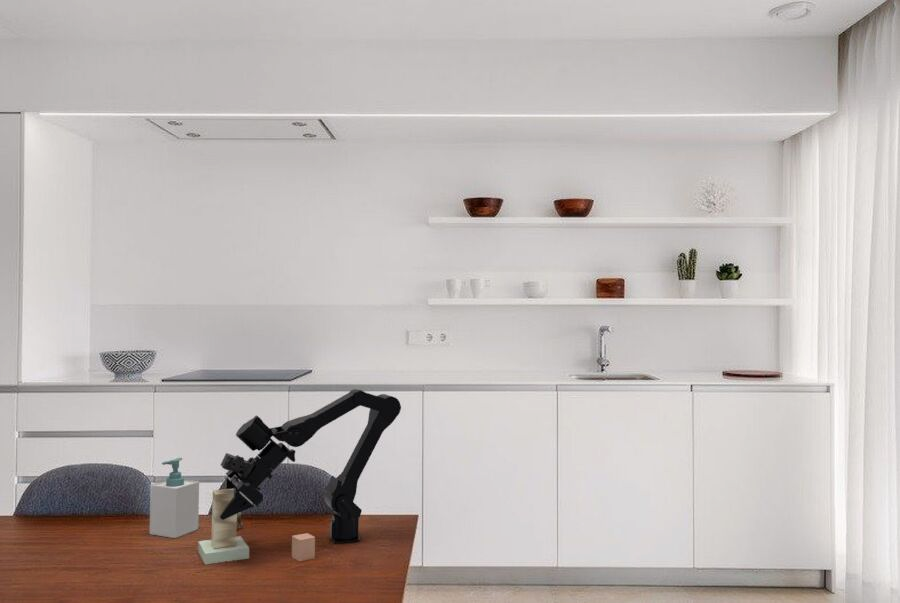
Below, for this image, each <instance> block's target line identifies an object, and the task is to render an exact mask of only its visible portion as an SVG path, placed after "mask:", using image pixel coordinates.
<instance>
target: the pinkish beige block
mask: <svg viewBox="0 0 900 603" xmlns="http://www.w3.org/2000/svg"><path fill="white" fill-rule="evenodd" d="M315 553H316V537H315V536H314V535H312V534H310V533H308V532H306V533H300V534H299V533H298V534H295V535H292V536H291V558H292V559H294V560H296V561H297V562H304V561H308V560H314V559H316V558H315V557H316V554H315Z"/></svg>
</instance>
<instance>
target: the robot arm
mask: <svg viewBox="0 0 900 603" xmlns="http://www.w3.org/2000/svg"><path fill="white" fill-rule="evenodd" d="M360 406H361V407H364V408H367V409H369V412H368V420H367V424H366V426H365V428H364V429H363V432H362V434H361V436H360V438H359V440H358V441H357V442H356V443H357V444H356V445H355V447H354V448H353V451H352V452H351V455H350V457H349V459H348V460H347V462H346V464H345V467H344V468H343V470H342V472H341V473H340V474H339V475H338V476H336V477H335V476H334V475H331V476H330V478H329V481H328V484H327V485H326V486H325V487H324V488H323V490H324V494H323V499H324V502H325V503H326V504H327V506H328V507H329V508H331V511H332V520H330V521H329V523H330V525H329V536H330V538H331V539H332V541H333V543H334V544H341V543H342V544H343V543H356V542H360V541H361V538H360V537H359V525H360V524H359V523H360V521H359V520H360V517H361V514H362V511H363V510H362V509H361V508H360V507H359V506H358V505H357V504H356V502H354V501H355V498H356V494H357V488H358V481H359V480H360V477H361V475H362V473H363V472H364V470H365V468H366V467H367V466H366V465H367V464H368V462H369V460H370V458H371V455H372V453H373V452H374V450H375V449H376V446H377V444H378V442H379V440H380V438H381V436H382V434H383V433H384V431H385V430H386V429H387V428H389V426H391V425H392V423H393V422H394V421H395V420H396V419H397V417H398V416H399V415H400V413H401V410H402V405H401V402H400V400H399V399H398V398H397V397H396V396H393V395H388V394H385V393H381V394H378V395H376V394H375V395H374V394H372V393H368V392H365V391H363V390H361V389H359V388H354V389H351V390H350V391H349V392H348V393H346V394H344V395H342V396H341V397H339V398H337V399H335V400H334V401H331V403H328V404H326V405H325V406H323V407H321V408H319V409H317V410H316V411H314V412H313V413H310V414H307V415H302V416H299V417H296V418H293V419H290V420H288V421H286V422H284V423H282V425H279V426H276V427H275V426H274V427H269V426H268V425H267V424H265V422H264V421H263V420H262V418H260V416H258V415H255V416H254V417H253V418H251V419H249V420H248V421H246V422H244V423H243V424H242V425H241V426H240V427H239V428H238V429H237V431H236V433H235V436H236V438H238V439H239V440H240V441H241V442H242V443H243V444H244V445H246V447H247V448H249V449H250V450H251V451H252V452H254V451H259V453H258V454H257V455H256V456H255V457H249V458H248V459H247V460H246V459H245V458H244V457H243V456H239V455H238V454H237V455H233V454H231V453H228V452H226V453H225V455H224V457H223V458H222V460H221V463H220V466H221V468H222V469H224V470H226V471H227V472H225V475H226V476H225V477H224V481H225V486H224V488H223V489H234V497H233V498H232V500H231V501H230V503H229V504H228V505H227V507H226V508H225V509H224V511H223V512H222V514H221V515H220V518H221V519H222V520H224V519H226V518H228V517H231V516H233V515H235V514H237V513H239V512H241V513H242V512H243V511H246V510H248V509H252V508H254V507H255V506H256V507H258V506H259V505H260V504H261V503H262V502H263V501H264V495H263V493H262V492H261V486H262V485H263V484H264V482H266V481H267V479H269V480H271V479H272V478H273V475H272V474H273V473H274V472H275V471H276V470H277V468H279V466H281V465H282V463H283V462H285V460H286V459H287V458H288V459H289V460H290V462H293V463H295V462H296V450H295V449H292V448H291V449H290V448H288V446H290V447H293V448H299V447H302V446H304V444H305V443H307V442H308V441H309V440H311V439H312V438H313V437H314V436H315V434H316V433H317V432H318V431H319V430H320V429H321V428H323V427H325V426H327V425H329V424H330V423H332V422H334V421H336V420H337V419H339V418H341V417H343V416H344V415H346V414H348V413H349V412H351V411H353V410H355V409H356V408H358V407H360ZM272 437H273V438H275V440H277V441H279V443H277V442H276V441H274V439H272ZM283 442H284V443H283ZM285 444H288V446H286V445H285Z"/></svg>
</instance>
